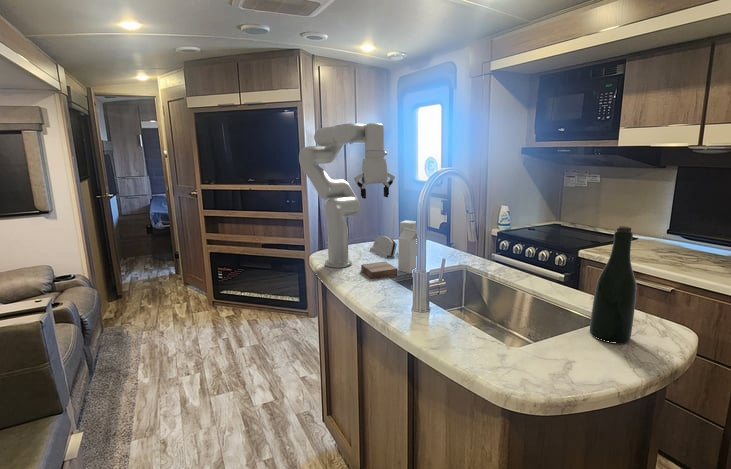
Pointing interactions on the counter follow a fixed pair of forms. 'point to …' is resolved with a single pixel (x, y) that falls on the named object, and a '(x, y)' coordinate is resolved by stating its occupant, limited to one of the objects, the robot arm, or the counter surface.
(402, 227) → the skincare box
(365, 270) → the walnut stand
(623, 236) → the dark green wine bottle
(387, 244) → the grey rounded slab
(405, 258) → the milk carton
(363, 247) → the counter surface
